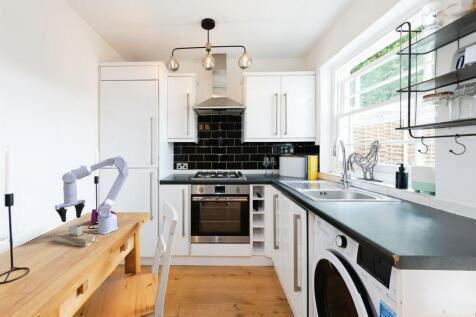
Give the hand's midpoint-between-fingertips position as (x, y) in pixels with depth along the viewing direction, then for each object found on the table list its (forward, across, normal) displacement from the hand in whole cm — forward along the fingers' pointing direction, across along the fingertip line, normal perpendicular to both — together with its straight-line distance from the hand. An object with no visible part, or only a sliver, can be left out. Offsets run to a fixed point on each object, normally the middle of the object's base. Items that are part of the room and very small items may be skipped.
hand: (71, 219), depth 125 cm
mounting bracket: (+10, -28, -10) cm, 32 cm away
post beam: (+9, +4, +9) cm, 14 cm away
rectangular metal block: (+10, +4, +9) cm, 14 cm away
